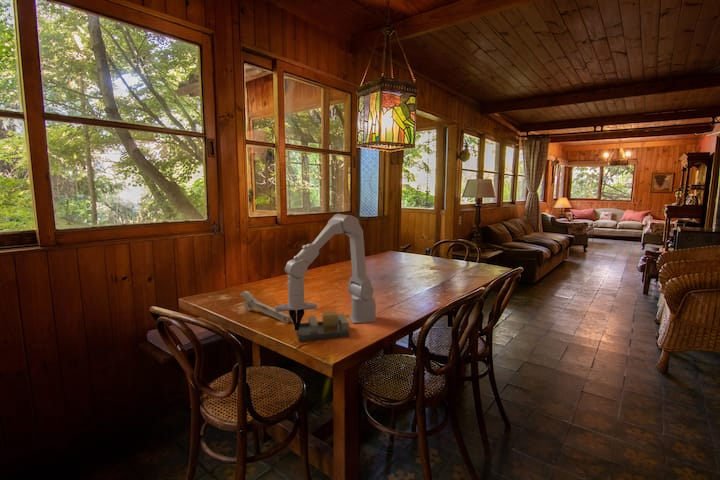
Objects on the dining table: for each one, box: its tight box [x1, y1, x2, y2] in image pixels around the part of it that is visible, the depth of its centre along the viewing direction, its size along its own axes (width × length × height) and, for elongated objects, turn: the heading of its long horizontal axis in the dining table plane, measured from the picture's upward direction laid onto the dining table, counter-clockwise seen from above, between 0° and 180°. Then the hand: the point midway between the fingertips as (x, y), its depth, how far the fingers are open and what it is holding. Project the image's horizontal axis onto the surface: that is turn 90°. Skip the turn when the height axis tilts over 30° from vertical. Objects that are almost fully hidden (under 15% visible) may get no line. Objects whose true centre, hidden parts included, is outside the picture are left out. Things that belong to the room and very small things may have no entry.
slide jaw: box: [307, 315, 318, 334], centre depth 135 cm, size 2×10×4 cm, turn 13°
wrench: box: [239, 290, 292, 324], centre depth 154 cm, size 8×2×30 cm
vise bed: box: [296, 313, 350, 343], centre depth 136 cm, size 18×12×5 cm, turn 103°
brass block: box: [321, 310, 338, 332], centre depth 137 cm, size 5×4×6 cm
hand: (296, 329), depth 134 cm, fingers closed
